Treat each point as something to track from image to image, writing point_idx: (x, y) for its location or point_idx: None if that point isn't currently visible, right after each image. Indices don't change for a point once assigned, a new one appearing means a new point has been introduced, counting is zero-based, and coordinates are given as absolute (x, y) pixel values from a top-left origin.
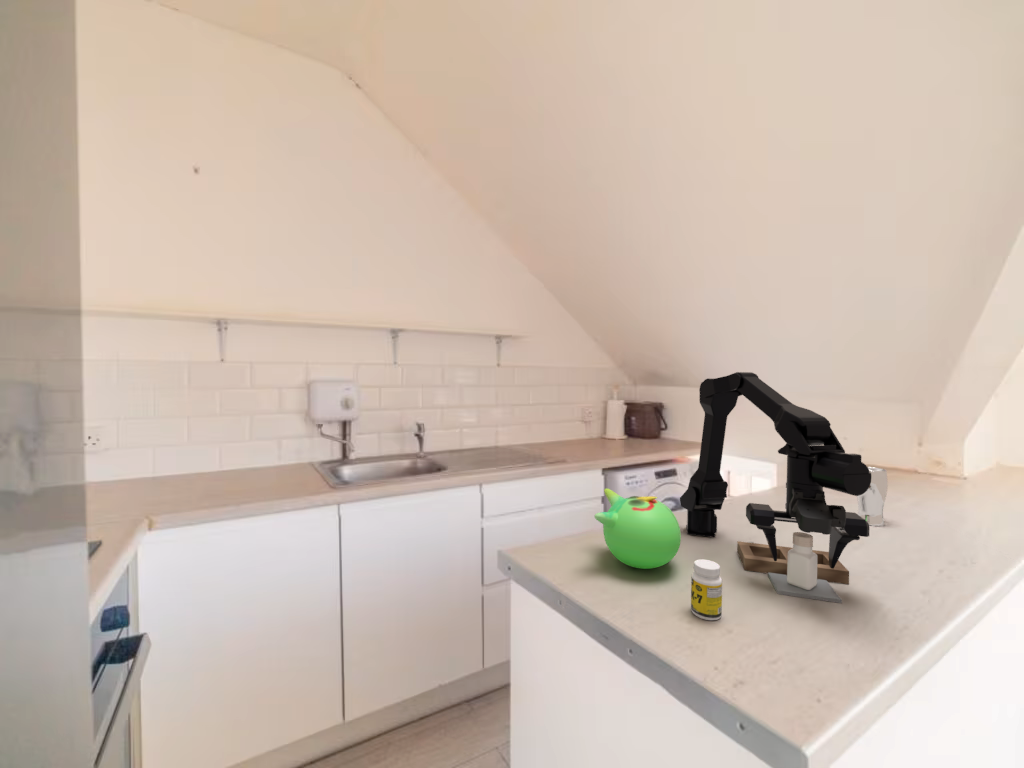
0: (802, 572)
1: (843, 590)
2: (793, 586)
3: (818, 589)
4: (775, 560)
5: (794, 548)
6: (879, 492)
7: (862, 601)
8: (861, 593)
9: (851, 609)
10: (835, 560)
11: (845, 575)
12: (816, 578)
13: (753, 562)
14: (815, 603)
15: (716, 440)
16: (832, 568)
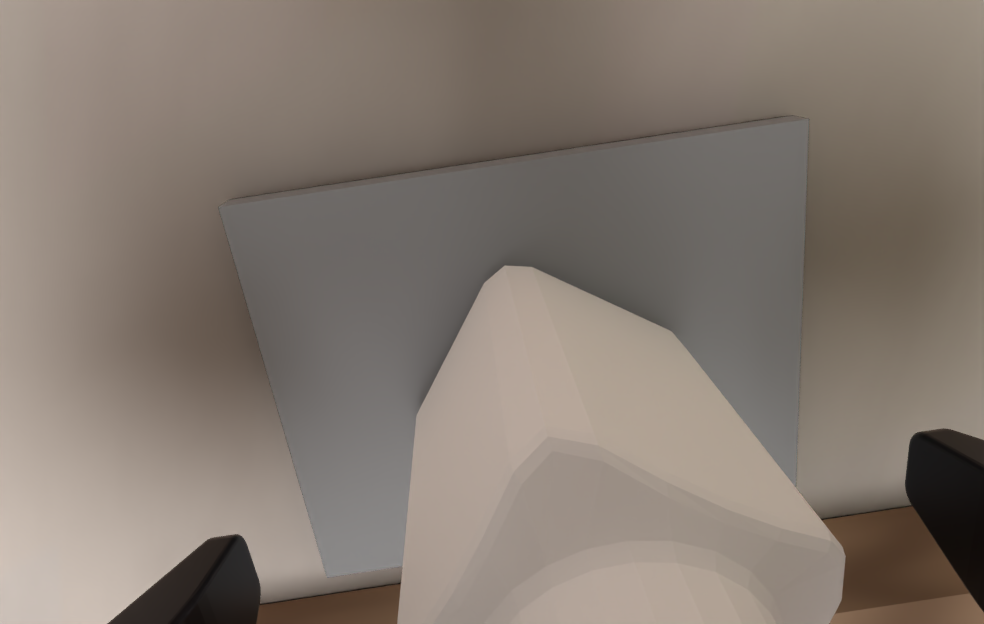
0: (594, 340)
1: (207, 489)
2: (628, 300)
3: (409, 345)
4: (938, 429)
5: None
6: None
7: (62, 339)
8: (73, 500)
9: (149, 97)
10: (136, 620)
11: None
12: (419, 436)
13: (943, 567)
14: (464, 64)
15: None
16: (227, 536)
